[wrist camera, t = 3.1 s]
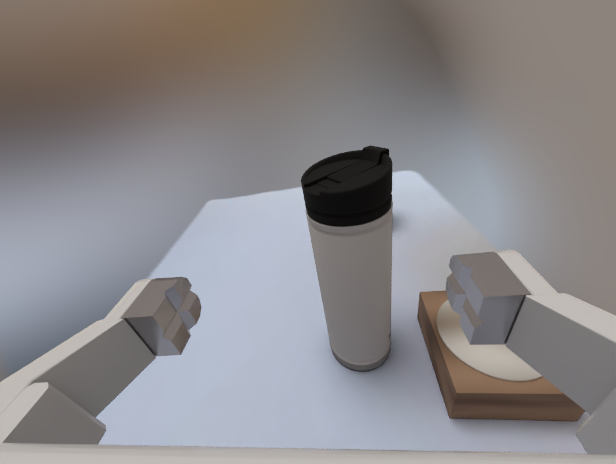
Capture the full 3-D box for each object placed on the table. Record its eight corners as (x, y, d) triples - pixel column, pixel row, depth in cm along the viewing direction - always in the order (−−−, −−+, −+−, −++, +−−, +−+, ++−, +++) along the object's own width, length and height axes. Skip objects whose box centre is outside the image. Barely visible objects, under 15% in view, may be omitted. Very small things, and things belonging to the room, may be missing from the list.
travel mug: (405, 345, 27) (418, 152, 17) (357, 385, 25) (336, 188, 14) (363, 308, 32) (352, 140, 21) (319, 339, 29) (281, 165, 19)
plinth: (576, 421, 20) (601, 392, 18) (449, 418, 21) (457, 390, 19) (505, 314, 28) (515, 285, 26) (417, 317, 30) (420, 289, 27)
